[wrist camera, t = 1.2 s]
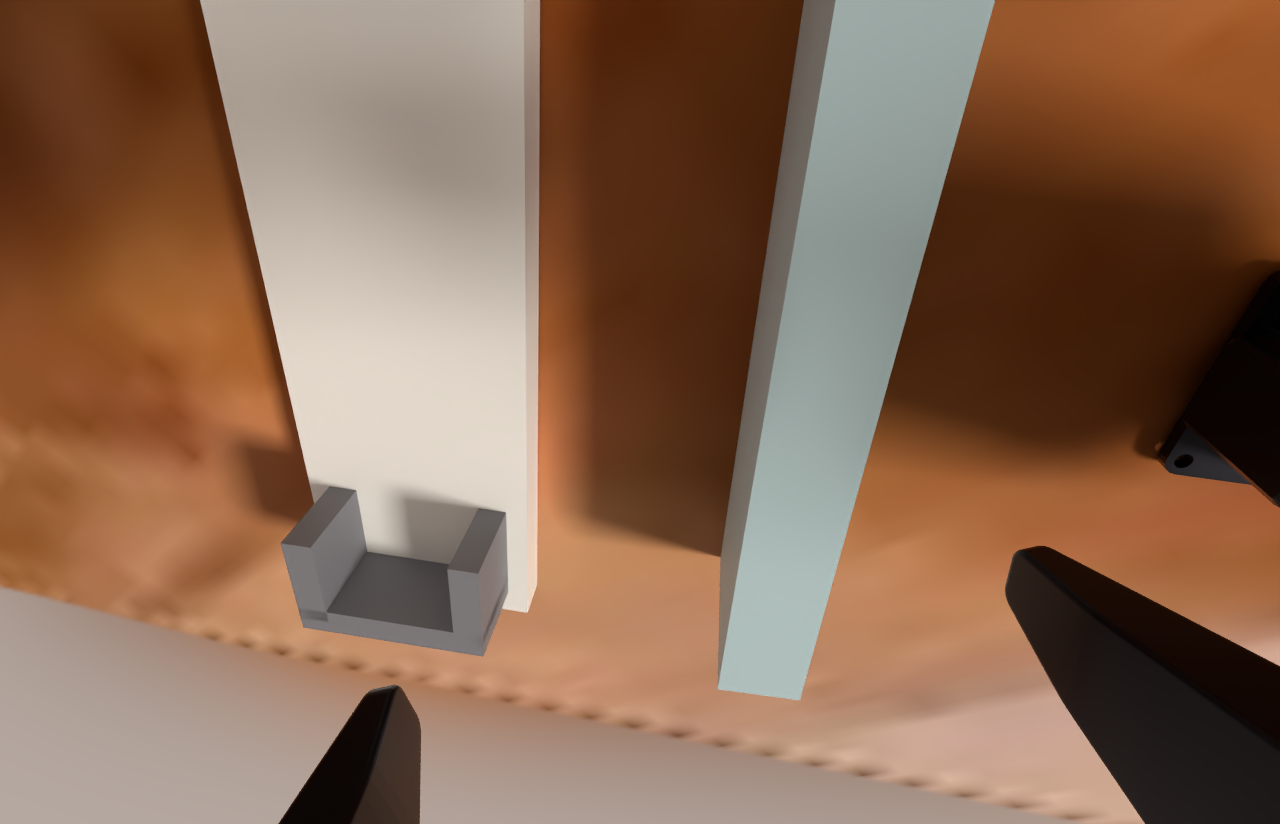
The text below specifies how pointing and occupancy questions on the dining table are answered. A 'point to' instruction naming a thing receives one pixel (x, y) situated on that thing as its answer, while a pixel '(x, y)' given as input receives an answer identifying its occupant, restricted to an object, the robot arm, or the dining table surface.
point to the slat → (834, 307)
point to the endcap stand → (399, 296)
